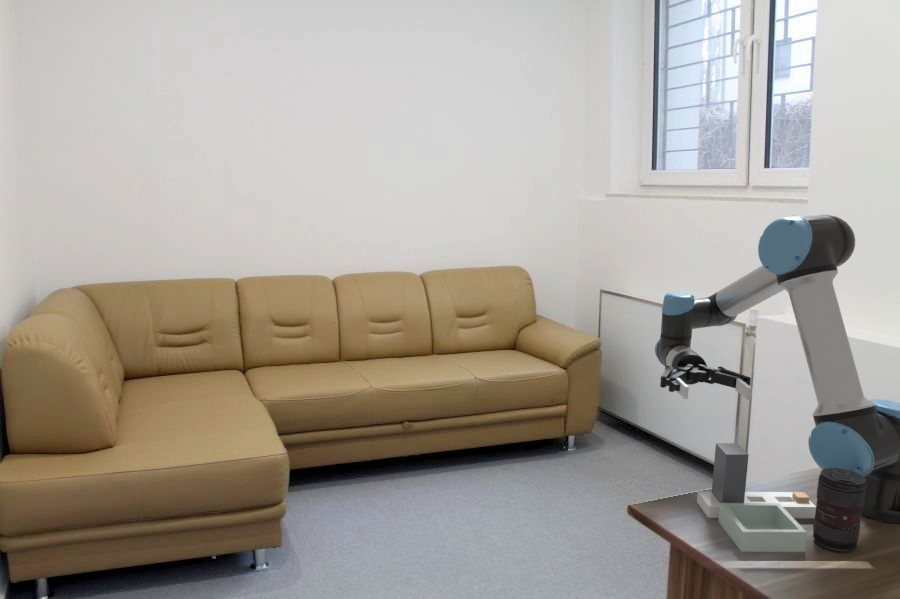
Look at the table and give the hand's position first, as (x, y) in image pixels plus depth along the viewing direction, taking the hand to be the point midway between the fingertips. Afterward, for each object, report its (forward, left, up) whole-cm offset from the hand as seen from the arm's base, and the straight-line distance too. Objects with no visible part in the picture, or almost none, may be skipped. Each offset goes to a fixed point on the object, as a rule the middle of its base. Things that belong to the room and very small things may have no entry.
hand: (718, 393), depth 169 cm
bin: (-18, +10, -23) cm, 31 cm away
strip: (-11, +1, -23) cm, 26 cm away
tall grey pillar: (-8, +6, -22) cm, 24 cm away
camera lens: (-28, +1, -23) cm, 37 cm away
